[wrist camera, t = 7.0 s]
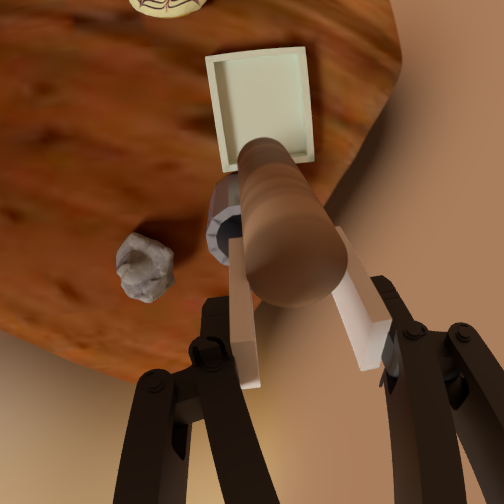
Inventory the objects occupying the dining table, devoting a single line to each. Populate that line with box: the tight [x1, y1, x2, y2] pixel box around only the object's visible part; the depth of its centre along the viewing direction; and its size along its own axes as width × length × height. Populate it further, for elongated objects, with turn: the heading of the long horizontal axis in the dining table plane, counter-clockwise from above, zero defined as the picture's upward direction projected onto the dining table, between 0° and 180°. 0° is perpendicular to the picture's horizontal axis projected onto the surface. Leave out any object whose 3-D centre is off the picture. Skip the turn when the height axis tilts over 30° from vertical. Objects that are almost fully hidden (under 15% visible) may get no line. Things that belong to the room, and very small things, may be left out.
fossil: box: [116, 232, 175, 303], centre depth 43 cm, size 11×9×8 cm
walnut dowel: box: [237, 137, 348, 308], centre depth 18 cm, size 5×4×14 cm
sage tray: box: [205, 47, 315, 173], centre depth 35 cm, size 14×11×2 cm
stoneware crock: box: [206, 174, 243, 266], centre depth 38 cm, size 8×8×10 cm
